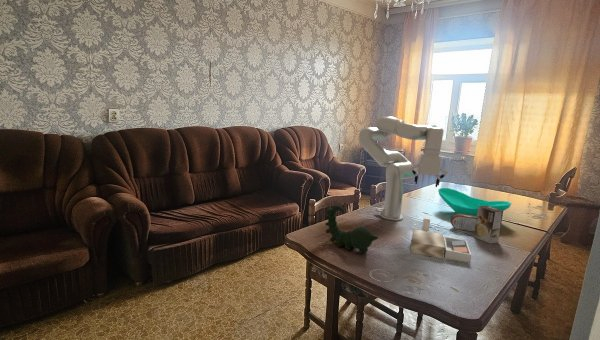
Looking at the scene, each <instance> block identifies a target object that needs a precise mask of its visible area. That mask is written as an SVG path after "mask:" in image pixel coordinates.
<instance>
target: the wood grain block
mask: <svg viewBox="0 0 600 340" xmlns="http://www.w3.org/2000/svg"><path fill="white" fill-rule="evenodd" d="M443 237H444V234H443V233H439V232H438V233H437V232H432V231H423V230H422V229H415V228H413V229H412V236H411V245H410V253H414V254H418V255H423V256H427V257H434V258H437V259H445V258H444V251H445V244H444V239H443Z"/></svg>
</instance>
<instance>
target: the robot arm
mask: <svg viewBox="0 0 600 340" xmlns="http://www.w3.org/2000/svg"><path fill="white" fill-rule="evenodd" d="M374 125H375V127H374V126H373V127H372V126H369V127H364V128H362V129H360V131H359V134H358V140H359V141H358V142H359V144H360V146H361V147H362V149H363V150H364V151H365V152H367V153H368V154H369V156H370V157H371V158H373V160H374V161H376V163H377V164H378V165H379V166H380V167H382V168H386V169H385V178H386V180H385V182H386V183H385V184H386V185H385V193H384V203H383V207H381V208H380V207H375V211H376V212H378V213H380V214H379V215H380V217H381V218H383V219H385V220H388V221H394V222H395V221H402V220H403V219H404V216H403V215H402V214H401V212H402V204H403V195H404V183H403V180H406V179H411V178H413V177H414V183H415V185H417V184H418V179H419V175H420V174H422V175H426V176H433V177H436V181H435V188H437V187H438V186H439V185H440V182H441V180H442V179H443V178H444V177H446V175H447V174H448V170H446V169H444V168H442V167H441V165H442V164H441V163H442V156H441V148H442V143H443V136H444V131H445V130H444V129H443V128H442V127H437V126H430V125H425V124H411V123H406V122H405V121H404V120H403V119H400V118H399V119H398V118H397V117H394V116H379V117H378V118H377V119H376V121H375V124H374ZM392 134H393V135H395V136H397V137H399V138H403V139H406V140H412V141H425V143H424V147H423V148H420V151H421V152H422V153H421V156H420V157H419V158H420V159H419V162H418V164H415V165H414V164H413V163H412V162H411V161H410V160H408V159H407V157H405V155H403V154H402V153H401V152H399V151H397V150H387V149H385V148H384V147H383V145H381V144H380V143H378V142H381V141H384V140H386V139H387V138H388V137H390V136H391V135H392ZM416 168H417V171H416V170H415V169H416ZM441 172H442V174H441V175H440V173H441Z"/></svg>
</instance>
